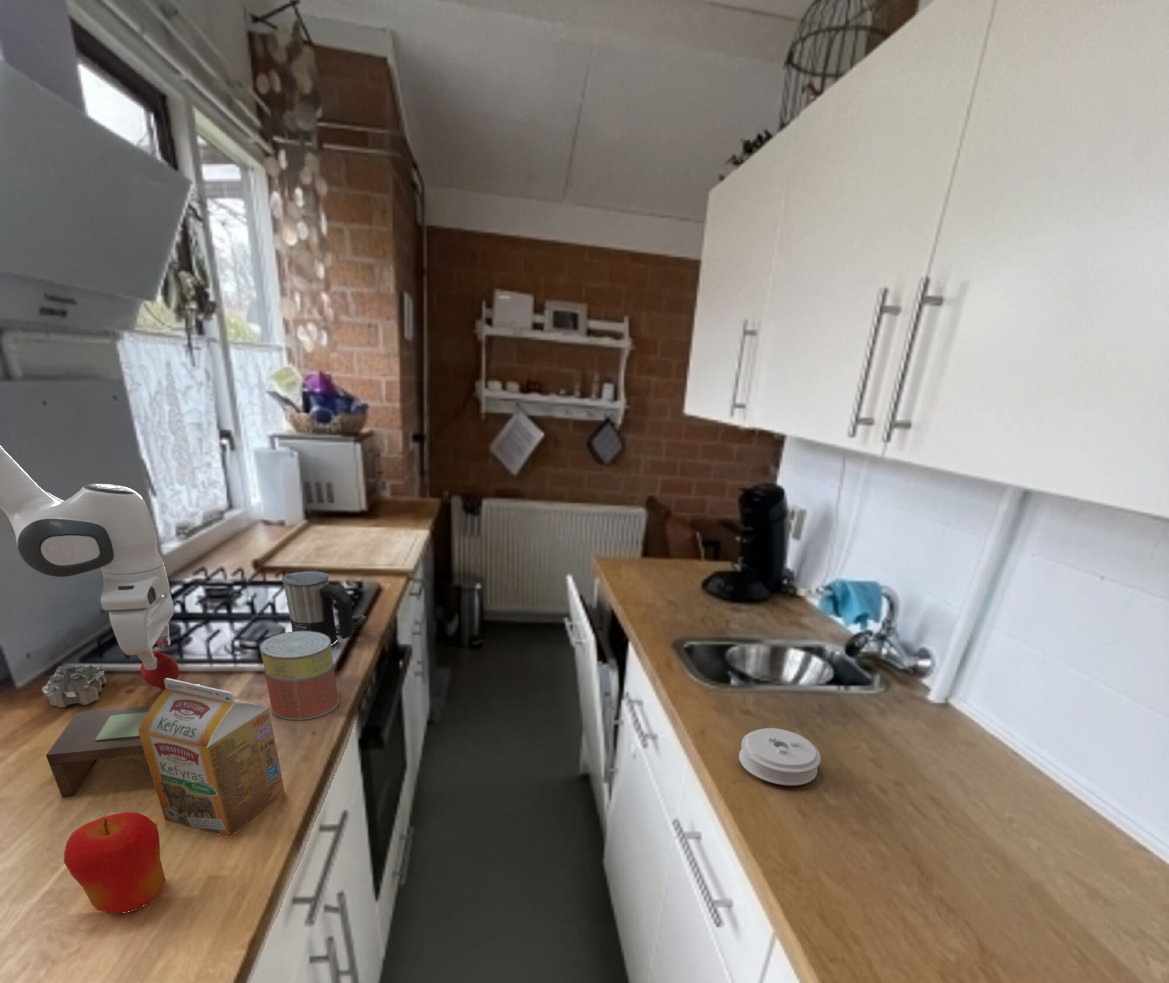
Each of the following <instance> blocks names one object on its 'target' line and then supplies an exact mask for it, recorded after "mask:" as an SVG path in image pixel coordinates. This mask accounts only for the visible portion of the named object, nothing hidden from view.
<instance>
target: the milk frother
mask: <svg viewBox="0 0 1169 983" xmlns="http://www.w3.org/2000/svg"><path fill="white" fill-rule="evenodd" d="M330 578H331V577H330V575H329V574H328V573H326V572H323V571H317V570H315V571H314V570H313V571H312V570H309V571H308V570H307V571H298V572H292V573H289V574H286V575H284V576H282V578H281V582H282V583H283V587H284V592H285V593H284V594H285V598H286V604H287V609H288V614H289V620H290V626H291V632H294V631H313V632H319V633H322V634H325V635H327V636H328V637H329V638H330V639H331V644H333V643H334V642H335V641H336V640H337V638H338V636H340V638H341V639H348V638H349V637H351V636H352V635H353V634H354V629H356V628H358V627H359V626H361V625H363V624H364V623H365V622H366V621H367V616H365V615H363V614H360V615H359V614H358V615H353V608H352V607H353V606H352V600H351V596H350V595H349V593H348V592H347V590H345V589H344V588H342V587H341V586H338V585H333V584H330V582H329V579H330ZM332 599H333V600H334V602H335V603H336V606H337V617H338V623H336V621H335V620H336V619H335V614H334V607H333V606H334V605H333V602H332V601H333V600H332Z"/></svg>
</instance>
